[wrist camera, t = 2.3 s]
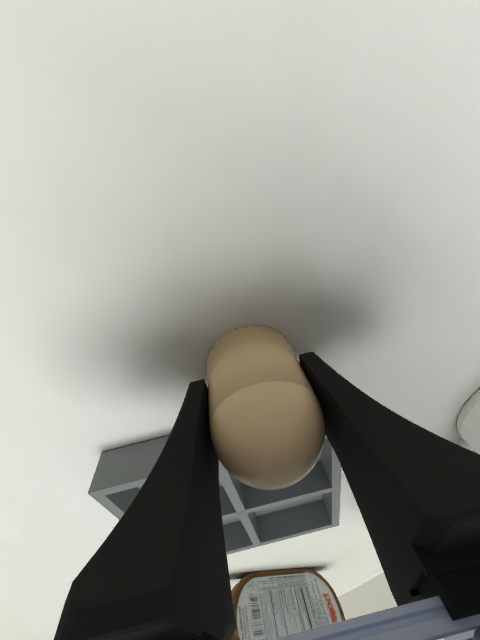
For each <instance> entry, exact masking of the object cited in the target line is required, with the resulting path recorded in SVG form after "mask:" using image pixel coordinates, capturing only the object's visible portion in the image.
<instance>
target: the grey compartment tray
mask: <svg viewBox="0 0 480 640" xmlns="http://www.w3.org/2000/svg"><path fill="white" fill-rule="evenodd" d="M168 437H169V435H168V436H165V437H161V438H157V439H153V440H149V441H145V442H141V443H137V444H133V445H129V446H125V447H121V448H117V449H114V450H110V451H106V452H102V453H101V456H100V459H99V462H98V465H97V468H96V471H95V474H94V477H93V480H92V483H91V486H90V488H89V491H88V494H89V495H90V496H92V497H93V498H94V499H95V500H96V501H98V502H99V503H100V504H101V505H102V506H104V507H105V508H106V509H107V510H108V511H110V512H111V513H112V514H113V515H114V516H116V517H117V518H118V519H119V520H120V519H121V517H122V516H123V515H124V513H125V512H126V510H127V509H128V507H129V506H130V504H131V503H132V501H133V500H134V498H135V497H136V495H137V494H138V492H139V490H140V489H141V487H142V485H143V484H144V482H145V481H146V479H147V477H148V476H149V474H150V472H151V470H152V469H153V467H154V465H155V463H156V461H157V460H158V458H159V456H160V454H161V452H162V450H163V448H164V446H165V444H166V442H167V440H168ZM340 486H341V464H340V462H339V460H338V458H337V456H336V454H335V451H334V450H333V448H332V446H331V444H330V442H329V440H328V438H327V436H326V435H325V440H324V445H323V449H322V452H321V455H320V457H319V459H318V461H317V463H316V464H315V466H314V467H313V469H312V470H311V471H310V472H309V473H308V474H307V475H306V476H305V477H304V478H303V479H302V480H300V481H299V482H297V483H295V484H294V485H292V486H289V487H286V488H283V489H278V490H262V489H257V488H254V487H250V486H248V485H246V484H244V483H242V482H240V481H239V480H237V479H236V478H235V477H233V476H232V475H231V474H230V473H229V472H228V471H227V470H226V469H225V468H224V466H223V465H222V463H221V462H220V460H219V490H220V501H221V511H222V521H223V530H224V539H225V547H226V555H227V554H231V553H235V552H239V551H242V550H246V549H250V548H254V547H258V546H262V545H265V544H269V543H273V542H277V541H281V540H285V539H289V538H292V537H296V536H300V535H304V534H308V533H312V532H315V531H319V530H323V529H327V528H331V527H335V526H338V525H339V511H340Z"/></svg>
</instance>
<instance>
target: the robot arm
mask: <svg viewBox="0 0 480 640" xmlns="http://www.w3.org/2000/svg"><path fill="white" fill-rule="evenodd" d="M299 358H300V365H301V367H302V369H303V371H304V373H305V375H306V377H307V379H308V381H309V383H310V385H311V387H312V389H313V391H314V393H315V395H316V396H317V398H318V401H319V403H320V405H321V408H322V411H323V415H324V421H325V435H326V436H327V438H328V440H329V442H330V444H331V446H332V448H333V450H334V451H335V454H336V456H337V458H338V460H339V462H340V464H341V466H342V469H343V471H344V473H345V476H346V478H347V480H348V483H349V485H350V488H351V490H352V492H353V495H354V497H355V500H356V502H357V505H358V507H359V509H360V512H361V514H362V517H363V519H364V522H365V524H366V527H367V529H368V532H369V534H370V537H371V539H372V542H373V545H374V547H375V550H376V552H377V555H378V558H379V560H380V563H381V566H382V568H383V571H384V573H385V576H386V579H387V581H388V584H389V587H390V590H391V592H392V594H393V596H394V599H395V601H396V603H397V605H398V606H397V607H394V608H390V609H386V610H382V611H378V612H375V613H371V614H367V615H363V616H359V617H356V618H352V619H348V620H344V621H341V622H337V623H333V624H329V625H325V626H322V627H318V628H314V629H310V630H307V631H303V632H299V633H295V634H291V635H288V636H284V637H280V638H276V639H272V640H437V639H441V638H444V639H445V640H480V454H477V453H475V452H472V451H470V450H468V449H465V448H463V447H461V446H459V445H457V444H454V443H452V442H450V441H448V440H446V439H444V438H441V437H439V436H437V435H436V434H434V433H432V432H430V431H428V430H426V429H424V428H422V427H420V426H418V425H416V424H414V423H412V422H410V421H408V420H407V419H405V418H403V417H401V416H400V415H398V414H396V413H394V412H393V411H391V410H390V409H388V408H386V407H385V406H383V405H381V404H380V403H378V402H377V401H375V400H374V399H372V398H371V397H369V396H368V395H366V394H365V393H364V392H362V391H361V390H359V389H358V388H356V387H355V386H354V385H352V384H351V383H350V382H349V381H347V380H346V379H345V378H343V377H342V376H341V375H339V374H338V373H337V372H336V371H335V370H333V369H332V368H331V367H330V366H329V365H327V364H326V363H325V362H324V361H323V360H322V359H321V358H320V357H318V356H317V355H316V354H315V353H314V352H309V353H305V354H301V355H299ZM235 628H236V623H235V616H234V609H233V601H232V594H231V587H230V579H229V572H228V563H227V555H226V547H225V539H224V530H223V521H222V511H221V501H220V490H219V459H218V457H217V455H216V453H215V451H214V448H213V445H212V441H211V436H210V428H209V404H208V388H207V385H206V383H205V380H204V379H202V380H198V381H194V382H191V383H190V384H189V387H188V390H187V393H186V396H185V399H184V402H183V404H182V407H181V410H180V412H179V415H178V417H177V419H176V422H175V424H174V427H173V429H172V431H171V433H170V435H169V437H168V440H167V442H166V444H165V446H164V448H163V450H162V452H161V454H160V456H159V458H158V460H157V461H156V463H155V465H154V467H153V469H152V470H151V472H150V474H149V476H148V477H147V479H146V481H145V482H144V484H143V485H142V487H141V489H140V490H139V492H138V494H137V495H136V497H135V498H134V500H133V501H132V503H131V504H130V506H129V507H128V509H127V510H126V512H125V513H124V515H123V516H122V517H121V519H120V520H119V522H118V523H117V525H116V526H115V527H114V529H113V530H112V532H111V533H110V534H109V536H108V537H107V539H106V540H105V541H104V543H103V544H102V545H101V546H100V548H99V549H98V550H97V552H96V553H95V554H94V555H93V557H92V558H91V559H90V561H89V562H88V563H87V564H86V566H85V567H84V568H83V570H82V571H81V572H80V573H79V575H78V576H77V577H76V578H75V580H74V581H73V582H72V585H71V588H70V591H69V593H68V596H67V599H66V601H65V605H64V608H63V611H62V614H61V618H60V621H59V624H58V628H57V631H56V634H55V637H54V640H230V639H231V637H232V635H233V633H234V630H235Z"/></svg>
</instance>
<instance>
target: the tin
mask: <svg viewBox="0 0 480 640" xmlns="http://www.w3.org/2000/svg"><path fill="white" fill-rule="evenodd" d="M231 594H232V601H233V609H234V616H235V623H236V628H235V630H234V633H233V635H232V637H231V639H230V640H272V639H276V638H280V637H284V636H288V635H291V634H295V633H299V632H303V631H307V630H310V629H314V628H318V627H322V626H325V625H329V624H333V623H337V622H341V621H344V620H345V617H344V614H343V611H342V608H341V605H340V603H339V601H338V598H337V596H336V594H335V592H334V590H333V589H332V587H331V586H330V585H329V583H328V582H327V581H326V580H325V579H324V578H323V577H322V576H321V575H320V574H318V573H317V572H315V571H313V570H311V569H307V568H299V569H286V570H270V571H256V572H251V573H249V574H247V575H246V576H244V577H243V578H242V579H241V580H240V582H239V583H237V584H236V585H235V587H234V588H233V589H232V591H231Z"/></svg>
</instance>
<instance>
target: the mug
mask: <svg viewBox="0 0 480 640" xmlns="http://www.w3.org/2000/svg"><path fill="white" fill-rule="evenodd" d="M457 430H458V433H459V435H460V437H461V438H462V439H463V440H464V441H465V442H466V443H467V444H468V445H469V446H470V447H471V448H472V449H473V450H474V451H475V452H476V453H477V454H480V389H479V390H477V391H476V392H475V393H474V394H473V395H472V397H471V398H470V399H469V400H468V401H467V402H466V403H465V405H464V406H463V408H462V410H461V412H460V413H459V415H458V419H457Z"/></svg>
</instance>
